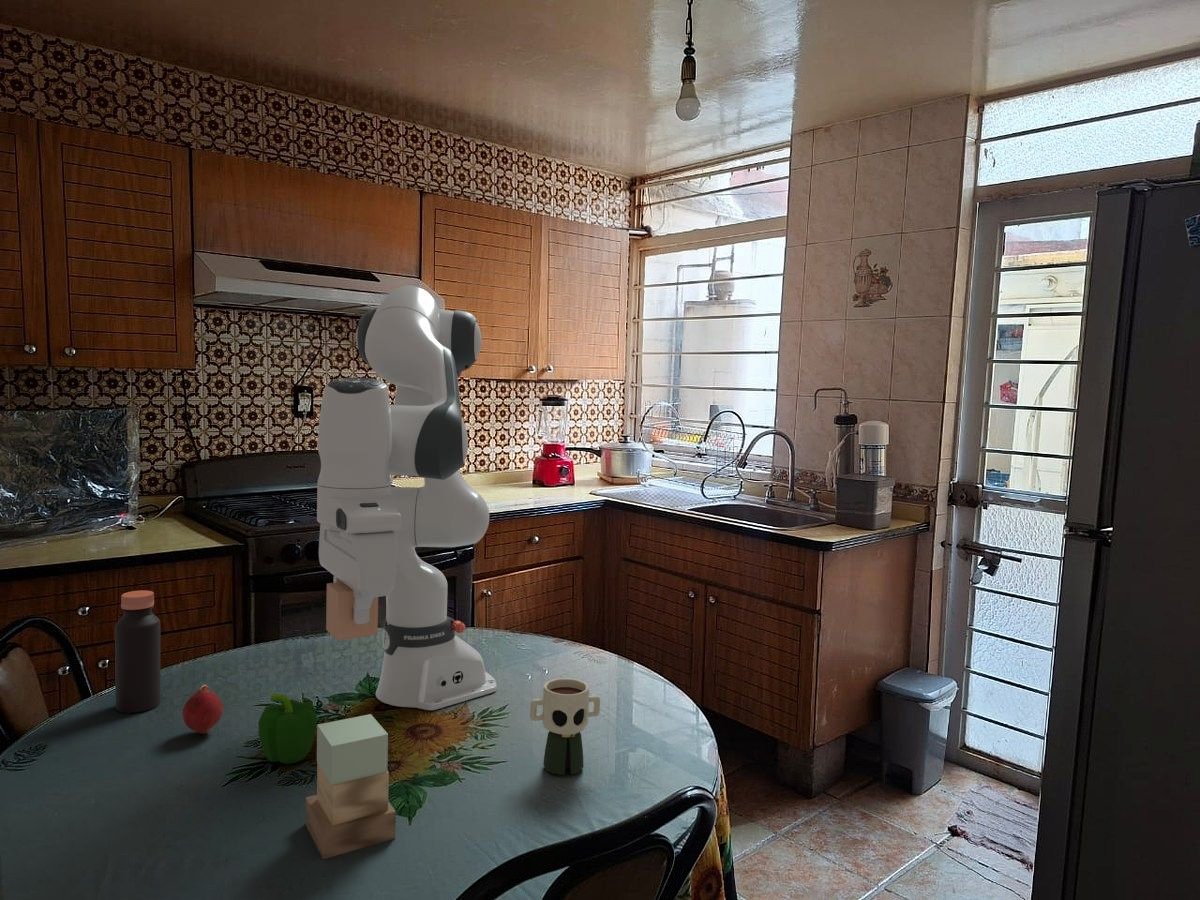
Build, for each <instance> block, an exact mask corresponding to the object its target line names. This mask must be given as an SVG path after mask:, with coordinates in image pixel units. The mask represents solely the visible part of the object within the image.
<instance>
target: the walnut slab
mask: <svg viewBox="0 0 1200 900" xmlns="http://www.w3.org/2000/svg"><path fill="white" fill-rule="evenodd" d="M396 823H397V811H396V809H395V808H394V807H393V806H392V804H391V803H390V801H389V800H388V810H386V811H383V812H379V813H376V814H372V815H369V816H365V817H361V818H358V819H354V820H351V821H347V822H344V823H340V824H337V825H332V824H331V822H330V820H329V819H328V817H327V816H326V814H325V812H324V811H323V809H322V807H321V806H320V804H319V803H318V801H317V794H314V795H310V796H306V797H305V826H306V829H307V830H308V831H309V833H310V835H311V837H312V840H313V842H314V844H315V846H316V848H317V850H318V851H319V854H320V856H321V858H322V860H325V859H328V858H329V859H330V858H332V857H336V856H339V855H342V854H347V853H350V852H353V851H357V850H360V849H364V848H367V847H370V846H373V845H374V846H375V845H377V844H378V845H379V844H381V843H384V842H388V841H391V840H395V839H396V831H397V830H396V826H397V825H396Z"/></svg>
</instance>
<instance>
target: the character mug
mask: <svg viewBox="0 0 1200 900" xmlns="http://www.w3.org/2000/svg"><path fill="white" fill-rule="evenodd" d="M542 690H543V691H542V692H543V693H542V698H536V699H531V701H530V708H529V712H530V713H529V714H530V715H529V717H530V718H529V719H530V720H531V721H541V722H542V725H543V727H544V728H545V730H547V731H548V733H547V737H546V744H545V748H544V757H543V764H542V765H543V767H544V768H545V770H546V771H547V772H550V773H552V774H555V775H561V776H564V775H565V774H566V769H570V775H574V774H576V773H579V772H580V771H581V770H583V768H584V750H583V749H584V748H583V740H582V733H581V732H583V731H584V730H585V729H586V727H588V726H587V725H588V723H589V718H590V717H591V718H592V717H594V718H595V717H598V716H599V715H600V712H601V711H600V710H601V697H600V695H597V694H596V695H590V687H589V684H588V683H587V682H585V681H583V680H580V679H577V678H576V679H575V678H571V677H569V678H568V677H567V678H565V677H564V678H563V677H560V678H553V679H551V680H547V681H546V682H545V683H544V684H543V688H542ZM589 703H593V710H589V709H590V707H589ZM538 706H542V713H537V708H538Z"/></svg>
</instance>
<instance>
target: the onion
mask: <svg viewBox="0 0 1200 900" xmlns="http://www.w3.org/2000/svg"><path fill="white" fill-rule="evenodd" d="M223 712H224V705H223V702H222V700H221V699H220V697H219V696H218V695H217V694H216V693H215V692H213V691H211V690H209V686H208V685H207V684H202V685H201V687H200V688H198V690H197V691H196V692H195V693H194V694H192V695H191V696H190V697H189V699H188V700H187V701H186V702H185V704H184V706H183V709H182V718H183V723H184V724H185V726H186V727H187V728H189V729H190V730H192V731H194V732H196V733H198V734H201V735H204V734H206V733H208V732H210V731H209V730H211V729H212V728H213V727H215V725H217V724H218V722H219V721H220V720H221V718H222V715H223Z"/></svg>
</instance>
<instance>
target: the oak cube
mask: <svg viewBox="0 0 1200 900" xmlns="http://www.w3.org/2000/svg"><path fill="white" fill-rule="evenodd" d="M316 763H317V762H316ZM316 767H317V768H316V770H317V771H316V773H317V774H316V784H317V785H316V795H317V801H318V803H319V804H320V806H321V807H322V809H323V811H324V812H325V814H326V816H327V817H328V819H329V820H330V822H331V824H332V825H337V824H340V823H344V822H347V821H351V820H354V819H358V818H361V817H365V816H369V815H372V814H376V813H379V812H383V811H386V810H388V801H389V783H390V781H389V780H390V777H389V776H390V772H389V771H388V770H387V772H385V773H381V774H377V775H373V776H369V777H365V778H360V779H356V780H352V781H348V782H344V783H340V784H336V785H332V786H331V784H330V783H329V781H328V779H327V778H326V776H325V774H324V773H323V771H322V770H321V768H320V766H319V765H318V763H317V765H316Z"/></svg>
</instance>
